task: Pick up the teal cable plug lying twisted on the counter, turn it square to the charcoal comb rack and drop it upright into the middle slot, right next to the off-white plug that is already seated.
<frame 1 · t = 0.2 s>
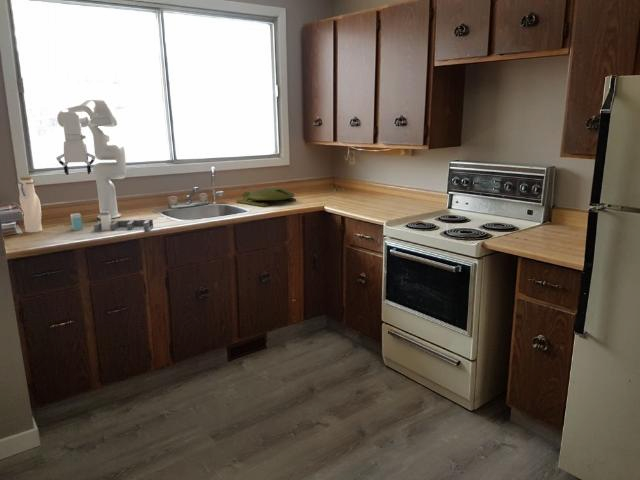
hand: (78, 174, 248), 30 cm above the table, tool pointing down, fingers open, 9 cm apart
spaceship: (269, 203, 341), on the table
teal plug: (77, 231, 263), on the table
white plug: (107, 228, 263), point 1 cm above the table, touching comb rack
comb rack: (123, 230, 264), on the table
water bottle: (34, 231, 265), on the table
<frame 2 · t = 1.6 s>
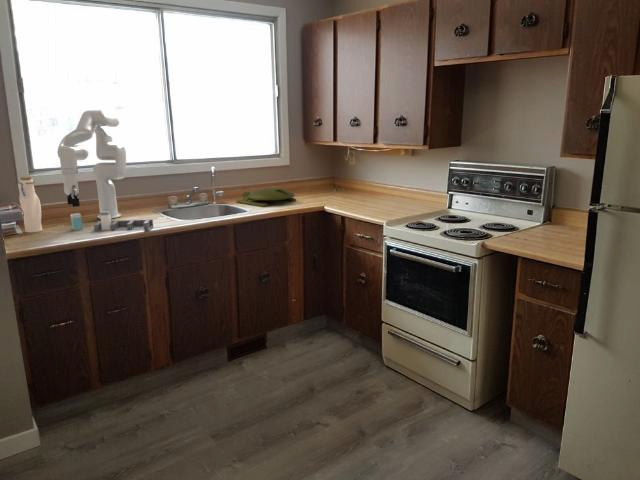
hand: (73, 205, 259), 14 cm above the table, tool pointing down, fingers open, 9 cm apart
nothing on the table moved.
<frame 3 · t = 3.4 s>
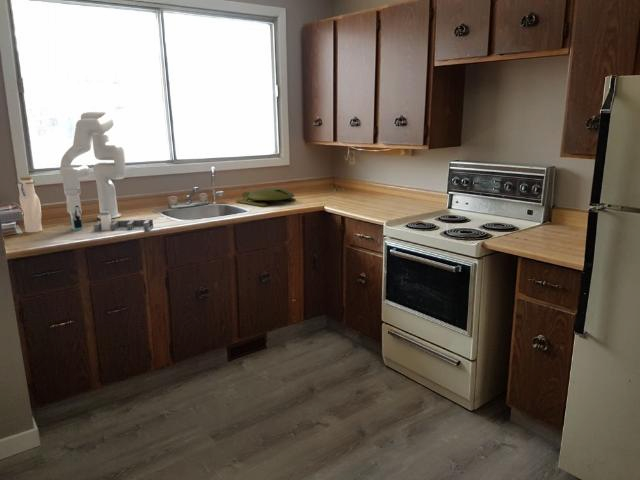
hand: (77, 226, 262), 3 cm above the table, tool pointing down, fingers closed on teal plug, 4 cm apart
teal plug: (77, 231, 263), on the table, touching gripper
everything else where it was.
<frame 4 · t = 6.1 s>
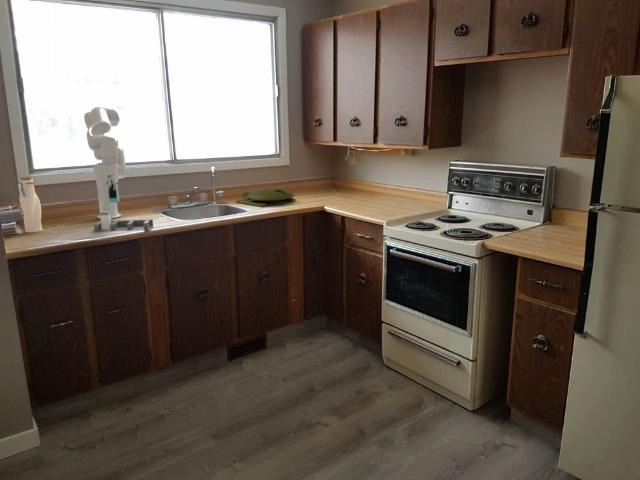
hand: (114, 196, 260), 17 cm above the table, tool pointing down, fingers closed on teal plug, 4 cm apart
teal plug: (114, 201, 260), point 15 cm above the table, touching gripper
everything else where it was.
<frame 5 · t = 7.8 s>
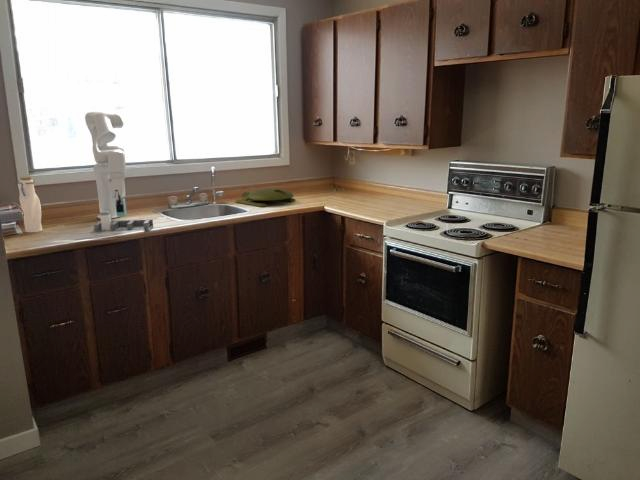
hand: (121, 210, 262), 10 cm above the table, tool pointing down, fingers closed on teal plug, 4 cm apart
teal plug: (121, 215, 262), point 8 cm above the table, touching gripper
everything else where it was.
when the fingers open (5 cm above the table, at t = 9.1 s): teal plug drops 1 cm, resting on comb rack.
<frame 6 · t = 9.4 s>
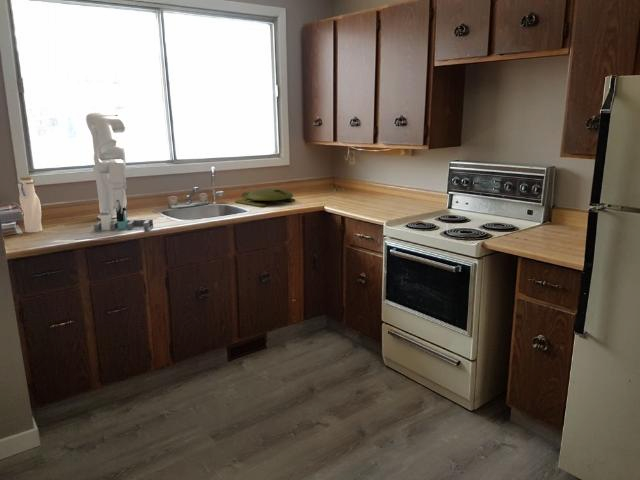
hand: (122, 219, 263), 6 cm above the table, tool pointing down, fingers open, 7 cm apart
teal plug: (123, 228, 264), point 1 cm above the table, touching comb rack
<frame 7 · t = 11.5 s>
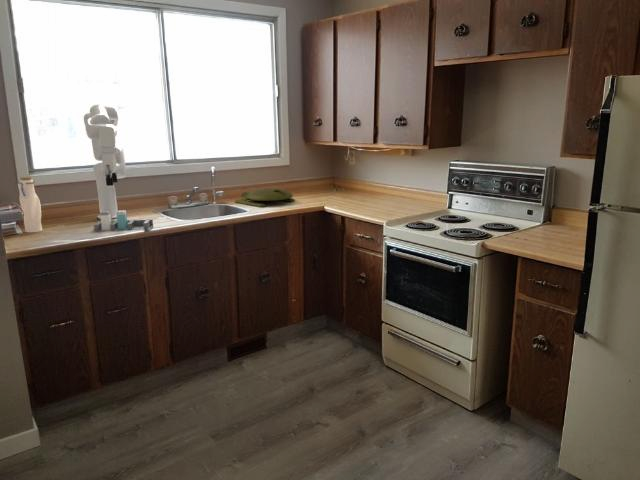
hand: (112, 183, 262), 24 cm above the table, tool pointing down, fingers open, 9 cm apart
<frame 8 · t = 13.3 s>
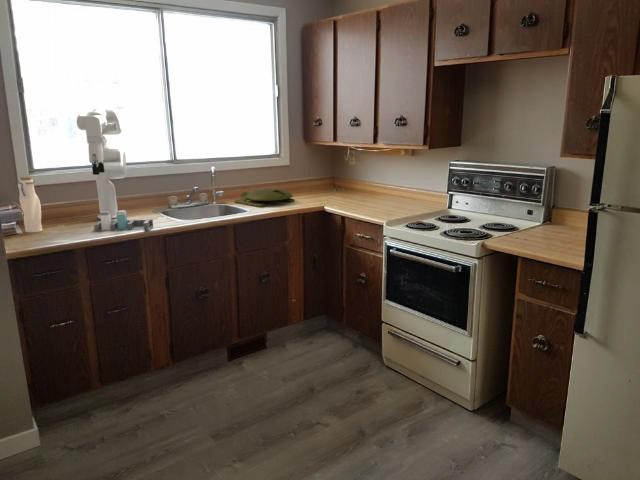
hand: (98, 173, 267), 28 cm above the table, tool pointing down, fingers open, 9 cm apart
at the end: teal plug 0.1 cm off-centre on the comb rack, point 1.0 cm above the comb rack's base; teal plug tilted 0°; white plug moved 0.0 cm from its start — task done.
